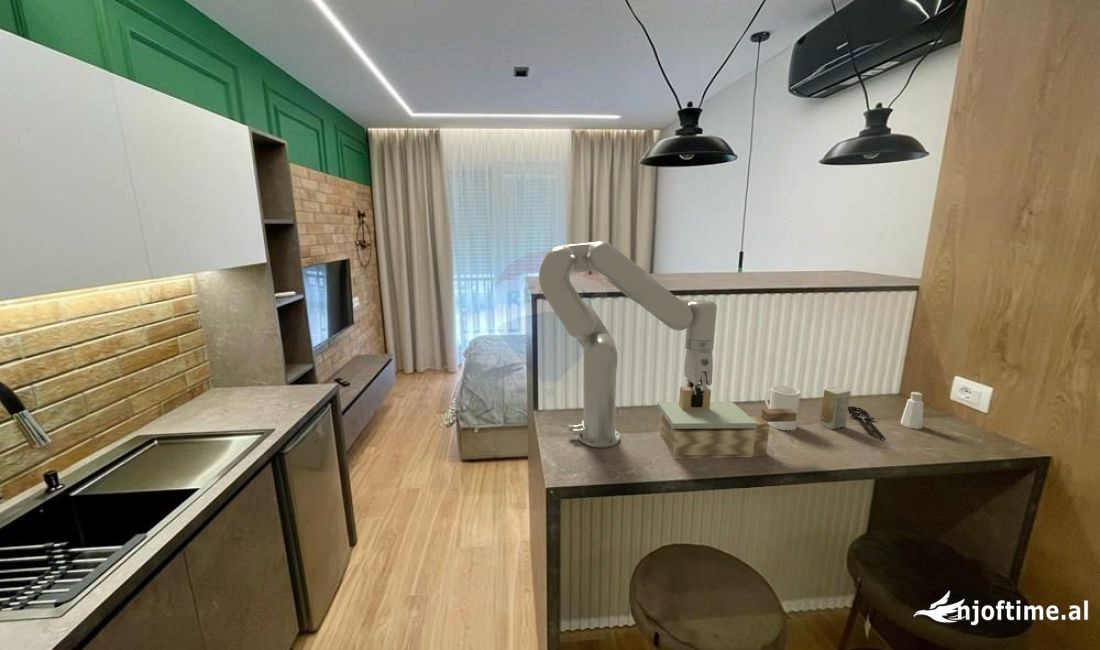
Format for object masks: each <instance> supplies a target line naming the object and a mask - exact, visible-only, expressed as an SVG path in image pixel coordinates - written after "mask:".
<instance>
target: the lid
mask: <svg viewBox="0 0 1100 650" xmlns="http://www.w3.org/2000/svg"><path fill="white" fill-rule="evenodd" d="M679 387H680V388H679V398H678V401H657V405H656V406H657V409H659V411H660V413H661V412H662V414H663V415H664V417H665V418H666V420H667V421H668V422H669V424H670V425H671V427H672V428H673V429H705V428H757V422H755V421H754V420H753V419H752V418H751V417H752V416H749V415H748V413H746V412H745V411H744V410H743V409H741V408H740V407H739V406H738V405H737V404H736V403H734V401H711V397H712V390H711V388H709V387H708V386H707V391H705V392H704V395H703V406H702V407H691V398H692V394H693V387H687V386H679ZM700 387H701V386H698V387H697V388H700Z"/></svg>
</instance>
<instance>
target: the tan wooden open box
mask: <svg viewBox="0 0 1100 650" xmlns="http://www.w3.org/2000/svg"><path fill="white" fill-rule="evenodd" d="M750 417H751V418H752V419H753V420H754V421H755V422H757V428H705V429H673V428H672V427H671V425H670V424H669V422H668V421H667V420H666V418H665V417H664V415H663V414H662V412H661V411H660V422H659V423H660V424H659V436H660V438H661V439H662V441H663V443H664V445H665V446H666V448H667V449H668V451H669V453H670V454H671V456H672V458H673V459H674V460H678V459H679V460H680V459H681V460H683V459H684V460H687V459H690V460H691V459H718V458H719V459H722V458H724V459H725V458H727V459H729V458H753V457H766V456H767V453H768V452H767V450H768V442H769V434H770V426H769V425H770V424H769V423H768V422H767V421H765V420H764V419H763V418H762V416H750Z"/></svg>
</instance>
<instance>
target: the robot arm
mask: <svg viewBox="0 0 1100 650" xmlns="http://www.w3.org/2000/svg"><path fill="white" fill-rule="evenodd" d="M592 271H593V272H595V273H596V274H598V275H599V276H601V277H602V278H603V279H605V280H606V281H607V282H608V283H610V284H611V285H612V286H614V287H615V288H616V289H617V290H619V291H620V292H622V293H623V294H624V295H625V296H626V297H628V298H629V299H630V300H631V301H633V302H635V303H636V304H637V305H640V306H641V307H642V308H643V309H645V310H646V311H647V312H648V313H649V314H651V315H653V316H654V317H655V318H657V319H658V320H659V321H660V322H662V324H664V325H666V327H668V328H669V329H671V330H674V331H684V330H685V331H686V333H685V334H686V335H685V343H684V344H685V347H684V348H685V350H686V352H685V359H684V370H683V371H684V376H685V377H686V379H687V380H686V381H687V382H686V383H687V385H686V387H693V394H692V398H691V407H702V406H703V395H704V392H705V391H707V387H708V386H710V387H711V386H712V385H713V372H714V371H713V370H714V369H713V368H714V365H713V363H714V362H713V359H714V358H713V351H714V344H715V342H714V341H715V332H716V322H717V321H716V320H717V304H716V303H715V302H714V301H711V300H703V299H701V300H700V299H697V300H687V299H679V298H678V297H677V295H674V294H673V293H672V292H671V291H669V290H668V289H667V288H666V287H664V286H663V285H661V284H660V283H659V282H658V281H657V280H656V279H655V278H654V277H653V276H651V274H650V273H648V272H647V271H646V270H645V269H643V268H642V267H641V266H639V265H638V264H637V263H636V262H635V261H633V260H632V259H631V258H629V257H628V256H627V255H625V254H624V253H623V252H621V251H620V250H619V249H617V248H616V247H615V246H613V245H612V244H611V243H610V242H607V241H602V240H600V241H599V240H598V241H595V242H586V243H585V242H584V243H578V244H577V243H576V244H566V245H559V246H554V247H553V248H551V249H550V250H549V251H548V252H547V253H546V254H545V256H544V258H543V260H542V262H541V266H540V267H539V273H538V274H539V275H538V280H539V285H540V290H541V291H542V295H543V296H544V297H545V299H546V301H547V302H548V304H549V305H550V307H551V308H552V310H553V312H554V314H555V315H556V316H557V318H558V320H559V321H560V322H561V324H562V325H563V327H564V329H565V331H566V332H567V334H568V335H569V336H571V338H574V339H576V340H577V341H578V343H579V345H580V346H581V347H582V348H583V420H581V423H578V424H567V425H568V428H567V429H568V432H572V434H573V435H578V440H579V441H580V442H581V443H582V444H584V445H586V446H589V447H592V448H610V447H613V446H616V445H617V444H618V443H619V442H620V440H621V434H620V433H619V431H618V430H616V404H617V403H616V401H617V400H616V396H617V389H616V388H617V370H618V350H617V346H616V343H615V340H614V338H613V337H612V335H611V334H610V332H609V331H608V329H607V328H606V326H605V324H604V323H603V321H602V320H601V319H600V317H599V315H598V314H597V312H596V311H595V309H594V308H593V307H592V306H591V305H589V304H588V303H586V302H585V301H584V300H583V299H582V298H581V296H580V295H579V293H578V291H577V289H576V288H575V287H574V286H573V284H572V282H571V277H570V275H571V274H574V273H575V274H576V273H584V272H592ZM697 387H700V388H697Z"/></svg>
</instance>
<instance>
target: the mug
mask: <svg viewBox="0 0 1100 650" xmlns="http://www.w3.org/2000/svg"><path fill="white" fill-rule="evenodd" d="M769 394H770V397H769V402H768V395H769ZM800 397H801V391H800V389H798V388H795V387H793V386H787V385H786V386H785V385H774V386H771V388H770V389H768V390H767V391H766V393H765V395H764V403H765V407H766V408H767V409H789V408H790V409H792V410H793V411H795V412H796V413H797V414H796V421H786V422H768V423H769V424H770V426H769V427H771V428H773V427H774V428H773V429H777V430H779V429H780V431H785V430H788V432H789V430H791V431H795V430H797V427H798V425H797V423H798V413H799V405H800Z"/></svg>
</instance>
